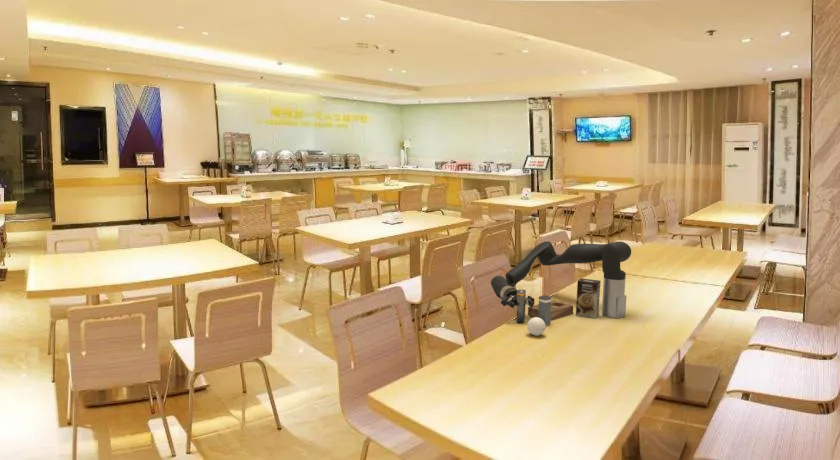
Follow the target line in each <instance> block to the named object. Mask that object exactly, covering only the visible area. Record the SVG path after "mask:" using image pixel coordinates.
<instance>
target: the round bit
mask: <svg viewBox="0 0 840 460" xmlns="http://www.w3.org/2000/svg"><path fill="white" fill-rule="evenodd" d="M516 290H517V305H516V316H515V317H516V320H515V321H516V323H517V324H525V323H526V305H525V300H526V297H527V295H526V293H527V292H526V291H527V290H526V289H516Z"/></svg>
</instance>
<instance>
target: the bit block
mask: <svg viewBox="0 0 840 460" xmlns="http://www.w3.org/2000/svg"><path fill="white" fill-rule="evenodd" d="M573 314H574V304H571V303H566V302H562V301H558V300H555V299H553V300H552V299H551V319H550V321H553V320H557V319H560V318H563V317H568V316H571V315H573ZM538 315H539V303H537V304H534V305H533V307H530V306H527V317H528V316H529V317H531V318H534V317H538Z"/></svg>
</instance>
